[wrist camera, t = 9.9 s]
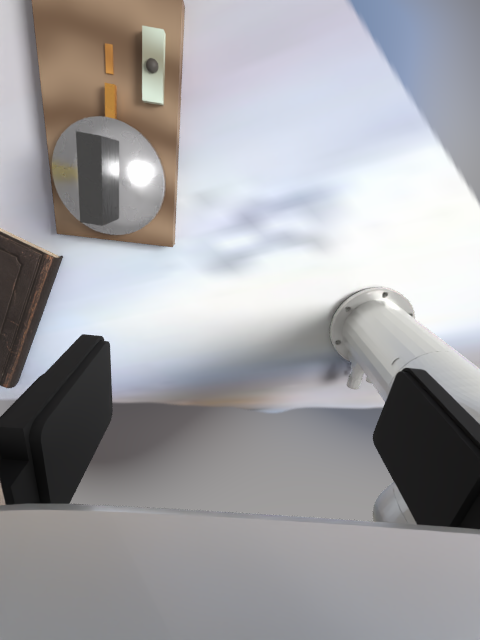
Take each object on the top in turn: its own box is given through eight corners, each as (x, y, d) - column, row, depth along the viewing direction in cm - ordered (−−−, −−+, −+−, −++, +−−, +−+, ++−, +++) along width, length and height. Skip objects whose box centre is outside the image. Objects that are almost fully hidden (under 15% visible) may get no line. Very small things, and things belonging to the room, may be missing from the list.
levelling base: (174, 243, 42) (170, 250, 39) (64, 230, 41) (49, 236, 37) (184, 7, 32) (180, -14, 29) (39, -21, 31) (15, -46, 27)
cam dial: (162, 239, 40) (151, 252, 33) (62, 224, 39) (30, 235, 32) (171, 97, 34) (159, 79, 27) (51, 73, 32) (9, 49, 26)
